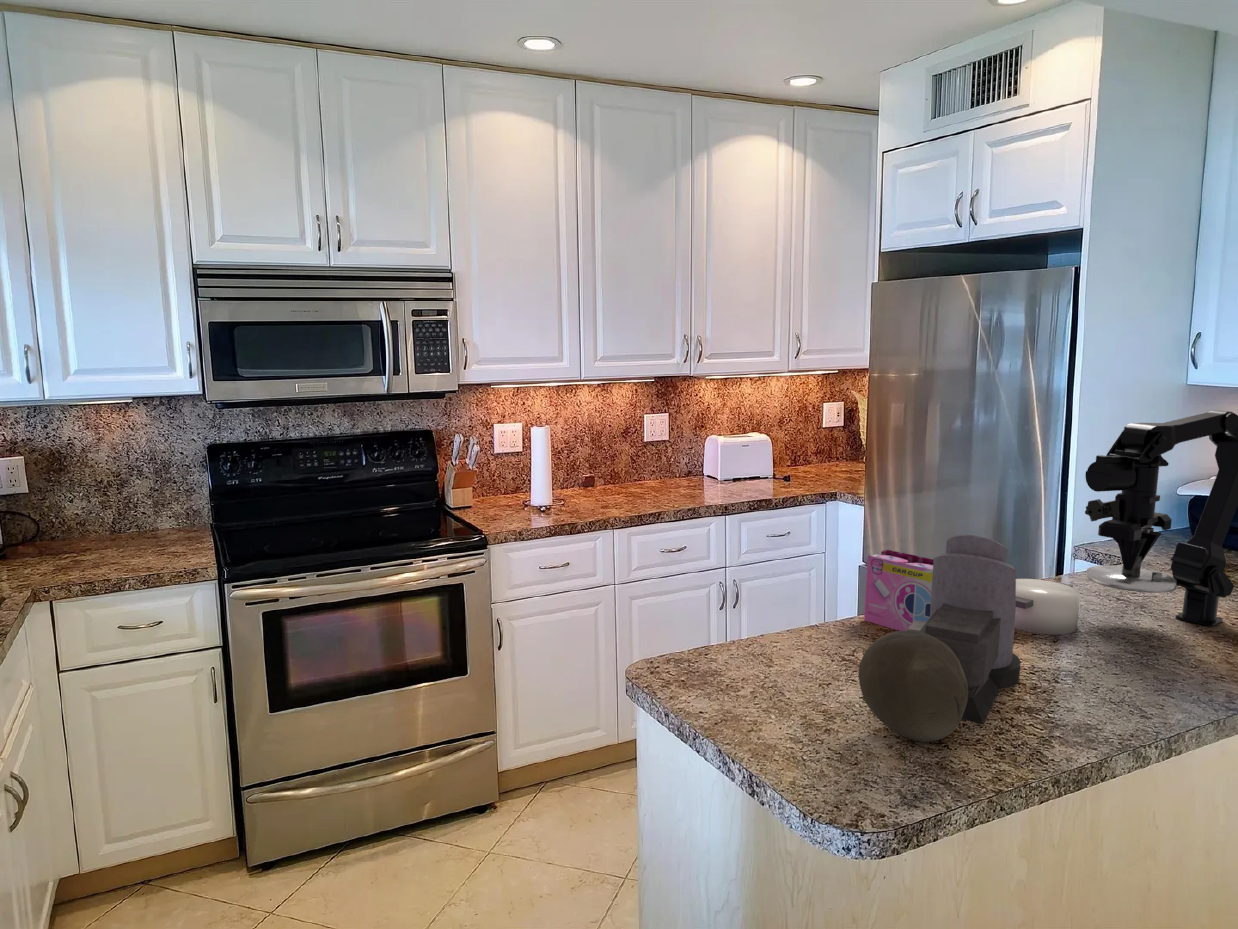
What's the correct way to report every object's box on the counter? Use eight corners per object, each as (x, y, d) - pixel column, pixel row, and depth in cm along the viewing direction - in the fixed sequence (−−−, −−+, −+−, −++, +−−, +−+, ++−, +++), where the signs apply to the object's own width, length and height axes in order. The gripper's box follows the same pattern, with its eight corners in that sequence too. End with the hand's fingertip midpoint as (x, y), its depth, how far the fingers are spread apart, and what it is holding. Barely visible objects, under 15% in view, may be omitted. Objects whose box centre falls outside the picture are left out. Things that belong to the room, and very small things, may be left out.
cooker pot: (1026, 604, 180) (1029, 572, 179) (1095, 622, 169) (1099, 588, 168) (978, 623, 168) (980, 588, 167) (1049, 643, 157) (1052, 606, 156)
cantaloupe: (938, 714, 127) (944, 618, 124) (981, 761, 113) (989, 653, 110) (845, 715, 126) (849, 618, 124) (876, 762, 112) (882, 653, 110)
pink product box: (856, 619, 170) (859, 553, 168) (878, 611, 175) (881, 547, 173) (972, 652, 152) (977, 579, 150) (992, 642, 157) (997, 571, 156)
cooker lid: (1106, 567, 175) (1108, 542, 174) (1188, 583, 163) (1191, 557, 163) (1072, 579, 166) (1074, 553, 165) (1157, 597, 154) (1160, 570, 153)
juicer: (930, 645, 156) (938, 515, 152) (1026, 663, 148) (1037, 526, 144) (887, 703, 131) (896, 549, 127) (999, 729, 122) (1012, 564, 119)
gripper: (1114, 479, 174) (1108, 553, 176) (1073, 488, 163) (1066, 567, 165) (1176, 486, 165) (1168, 564, 168) (1136, 497, 154) (1128, 580, 156)
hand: (1131, 568), depth 164 cm, fingers closed on cooker lid, 3 cm apart
